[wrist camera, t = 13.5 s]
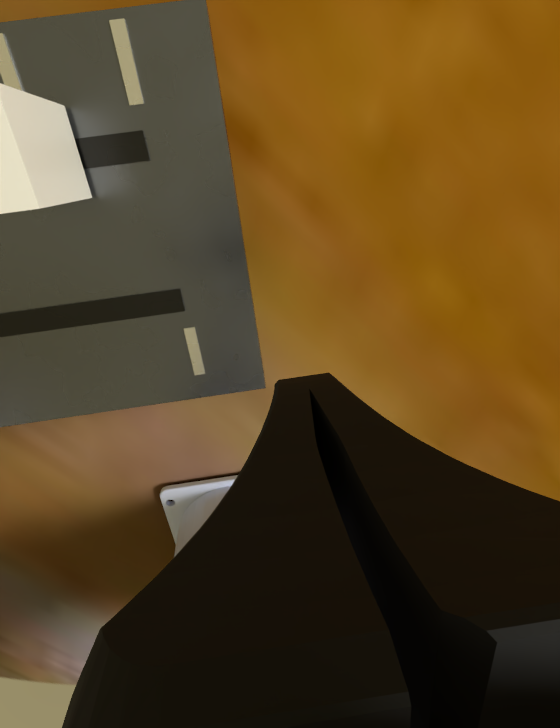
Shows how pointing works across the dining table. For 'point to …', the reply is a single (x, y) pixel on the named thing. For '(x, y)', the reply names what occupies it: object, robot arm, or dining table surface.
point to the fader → (37, 154)
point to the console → (126, 223)
